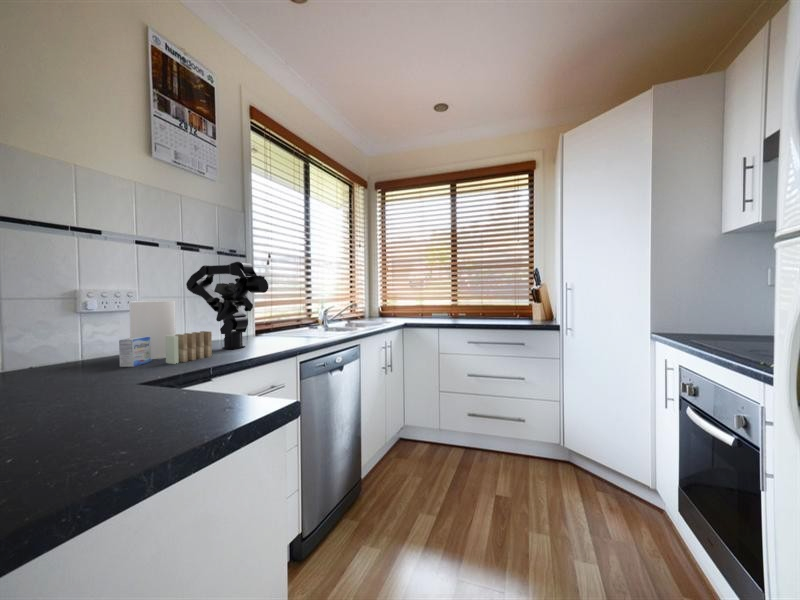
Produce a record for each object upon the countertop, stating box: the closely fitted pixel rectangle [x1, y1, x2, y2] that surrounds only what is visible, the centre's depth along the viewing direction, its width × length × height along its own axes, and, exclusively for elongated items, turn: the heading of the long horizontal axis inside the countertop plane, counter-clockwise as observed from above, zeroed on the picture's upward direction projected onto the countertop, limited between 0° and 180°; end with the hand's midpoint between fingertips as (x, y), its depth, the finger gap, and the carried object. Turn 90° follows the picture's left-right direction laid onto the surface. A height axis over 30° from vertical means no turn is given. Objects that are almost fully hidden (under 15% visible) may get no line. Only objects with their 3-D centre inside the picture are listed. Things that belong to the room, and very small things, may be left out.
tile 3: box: [183, 332, 197, 361], centre depth 123 cm, size 1×4×9 cm, turn 69°
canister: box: [129, 300, 177, 360], centre depth 129 cm, size 14×14×20 cm
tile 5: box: [165, 335, 180, 365], centre depth 117 cm, size 1×4×9 cm, turn 69°
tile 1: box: [199, 330, 213, 358], centre depth 129 cm, size 1×4×9 cm, turn 69°
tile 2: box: [191, 331, 205, 360], centre depth 126 cm, size 1×4×9 cm, turn 69°
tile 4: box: [175, 333, 189, 363], centre depth 120 cm, size 1×4×9 cm, turn 69°
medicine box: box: [118, 336, 152, 368], centre depth 115 cm, size 8×4×9 cm, turn 179°
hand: (217, 320), depth 133 cm, fingers closed
